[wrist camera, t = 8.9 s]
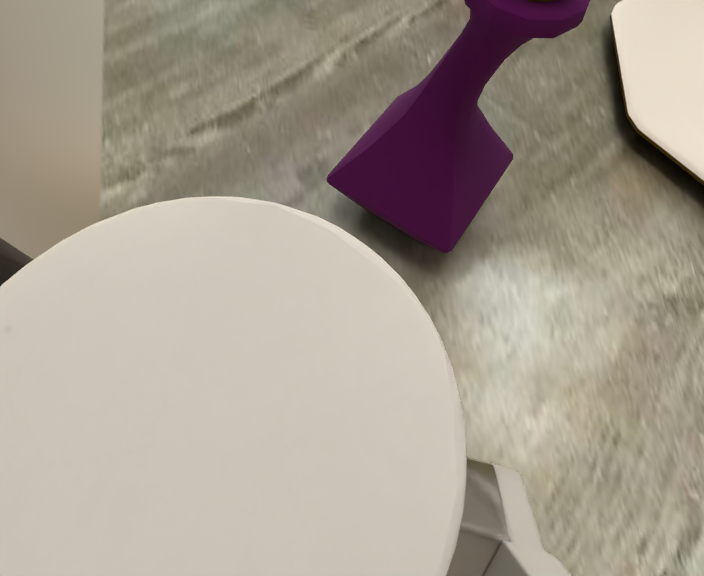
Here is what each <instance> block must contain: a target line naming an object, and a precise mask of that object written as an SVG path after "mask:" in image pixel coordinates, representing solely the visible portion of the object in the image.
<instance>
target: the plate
mask: <svg viewBox="0 0 704 576" xmlns="http://www.w3.org/2000/svg"><path fill="white" fill-rule="evenodd" d="M610 22H611V28H612V34H613V40H614V46H615V52H616V58H617V64H618V70H619V76H620V82H621V88H622V94H623V100H624V106H625V112H626V117H627V118H628V120H629V121H630V123H631V124H632V126H633V127H634V129H635V130H636V132H637V133H638V134H639V135H641V136H642V137H643V138H644V139H646V140H647V141H648V142H649V143H651V144H652V145H653V146H654V147H656V148H657V149H658V150H660V151H661V152H662V153H663V154H665V155H666V156H667V157H668V158H670V159H671V160H672V161H673V162H675V163H676V164H677V165H678V166H680V167H681V168H682V169H684V170H685V171H686V172H687V173H689V174H690V175H691V176H692V177H694V178H695V179H696V180H697V181H699V182H700V183H701V184H703V185H704V0H623V1H621V2H619V3H617V4H616V5H615V7H614V9H613V11H612V13H611V15H610Z"/></svg>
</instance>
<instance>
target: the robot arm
mask: <svg viewBox="0 0 704 576" xmlns="http://www.w3.org/2000/svg"><path fill="white" fill-rule="evenodd" d="M466 458H467V471H466V490H465V499H464V509H463V515H462V520H461V525H460V530H459V534H458V539H457V544H456V548H455V551H454V554H453V557H452V560H451V563H450V566H449V569H448V572H447V575H446V576H572V575H571V574H570V572H569V571H568V570H567V569H566V568H565V567H564V565H563V564H562V563H561V562H560V561H559V560H558V559H557V557H556V556H555V555H552V554H549V553H546V552H545V548H544V545H543V542H542V539H541V536H540V533H539V530H538V526H537V523H536V520H535V517H534V514H533V511H532V507H531V504H530V501H529V498H528V495H527V492H526V489H525V485H524V482H523V479H522V476H521V474H520V473H519V471H518V470H516V469H512V468H509V467H505V466H501V465H497V464H493V463H487V462H483V461H480V460H476V459H472V458H469V457H466Z"/></svg>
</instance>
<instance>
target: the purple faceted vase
mask: <svg viewBox="0 0 704 576" xmlns="http://www.w3.org/2000/svg"><path fill="white" fill-rule="evenodd" d="M589 1H590V0H465V4H466V5H467V6H468V7H469V8H470V19H469V21H468V23H467V25H466V26H465V28H464V30H463V31H462V33H461V34H460V36H459V37H458V38H457V40H456V41H455V42H454V43H453V45H452V46H451V47H450V49H449V50H448V51H447V52H446V54H445V55H444V56H443V58H442V59H441V60H440V61H439V63H438V64H437V65H436V66H435V68H434V69H433V70H432V71H431V72H430V74H429V75H428V76H427V77H426V78H425V79H424V80H423V81H421V82H420V83H419V84H418V85H417V86H415V87H414V88H412V89H410V90H408V91H407V92H405V93H403V94H402V95H400V96H398V97H397V98H396V99H395V100H394V101H393V103H392V104H391V105H390V106H389V107H388V108H387V109H386V110H385V112H384V113H383V114H382V115H381V116H380V117H379V118H378V120H377V121H376V122H375V123H374V124H373V125H372V126H371V127H370V129H369V130H368V131H367V132H366V133H365V134H364V135H363V136H362V138H361V139H360V140H359V141H358V142H357V143H356V144H355V145H354V147H353V148H352V149H351V150H350V151H349V152H348V153H347V154H346V156H345V157H344V158H343V159H342V160H341V161H340V162H339V163H338V165H337V166H336V167H335V168H334V169H333V170H332V171H331V172H330V174H329V175H328V177H327V182H328V183H329V184H330V185H331V186H333V187H334V188H336V189H337V190H338V191H340V192H341V193H343V194H344V195H346V196H347V197H348V198H350V199H351V200H353V201H354V202H356V203H357V204H359V205H360V206H361V207H363V208H364V209H366V210H367V211H369V212H370V213H372V214H374V215H375V216H377V217H379V218H380V219H382V220H384V221H385V222H387V223H389V224H390V225H392V226H394V227H395V228H397V229H399V230H400V231H402V232H404V233H405V234H407V235H409V236H410V237H412V238H414V239H415V240H417V241H419V242H420V243H423V244H425V245H427V246H429V247H432V248H434V249H436V250H438V251H441V252H443V253H449V252H450V251H452V249H453V248H454V246H455V245H456V243H457V242H458V240H459V239H460V237H461V236H462V234H463V233H464V231H465V230H466V228H467V227H468V225H469V224H470V222H471V221H472V219H473V218H474V216H475V215H476V213H477V212H478V210H479V209H480V207H481V206H482V204H483V203H484V201H485V200H486V199H487V197H488V196H489V194H490V193H491V191H492V190H493V188H494V187H495V185H496V184H497V182H498V181H499V179H500V178H501V176H502V175H503V173H504V172H505V170H506V169H507V167H508V166H509V164H510V163H511V161H512V160H513V154H512V152H511V151H510V150H509V149H508V147H507V146H506V145H505V144H504V142H503V141H502V140H501V139H500V137H499V136H498V135H497V134H496V132H495V131H494V130H493V129H492V127H491V126H490V125H489V123H488V121H487V120H486V118H485V117H484V115H483V113H482V112H481V110H480V109H479V107H478V105H477V101H478V99H479V97H480V94H481V92H482V90H483V88H484V86H485V84H486V83H487V82H488V81H489V79H490V78H491V77H492V75H493V74H494V73H495V71H496V70H497V69H498V67H499V66H500V65H501V64H502V62H503V61H504V60H505V59H506V58H507V57H508V56H509V55H510V54H512V53H513V52H514V51H515V50H516V49H517V48H518V47H519V46H521V45H522V44H524V43H526V42H527V41H529V40H531V39H533V38H555V37H557V36H559V35H561V34H563V33H565V32H567V31H569V30H571V29H573V28H575V27H577V26H578V25H579V24H580V23H581V22H582V20H583V17H584V15H585V12H586V9H587V7H588V4H589Z"/></svg>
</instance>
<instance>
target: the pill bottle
mask: <svg viewBox="0 0 704 576" xmlns="http://www.w3.org/2000/svg"><path fill="white" fill-rule="evenodd" d="M466 471H467V458H466V428H465V422H464V416H463V410H462V404H461V399H460V395H459V392H458V388H457V384H456V380H455V376H454V373H453V369H452V365H451V362H450V360H449V357H448V355H447V352H446V349H445V347H444V344H443V342H442V339H441V337H440V335H439V333H438V331H437V330H436V328H435V326H434V324H433V322H432V320H431V318H430V316H429V315H428V313H427V312H426V311H425V309H424V308H423V306H422V305H421V303H420V301H419V300H418V298H417V297H416V295H415V294H414V293H413V291H412V290H411V289H410V288H409V286H408V285H407V284H406V283H405V281H404V280H403V279H402V278H401V277H400V276H399V275H398V274H397V273H396V272H395V271H394V270H393V269H392V268H391V267H390V266H389V265H388V264H387V263H386V262H385V261H384V260H383V259H382V258H381V257H380V256H379V255H378V254H376V253H375V252H374V251H373V250H371V249H370V248H369V247H368V246H366V245H365V244H364V243H362V242H361V241H359V240H358V239H356V238H355V237H353V236H352V235H350V234H349V233H347V232H346V231H344V230H342V229H341V228H339V227H338V226H335V225H333V224H331V223H329V222H327V221H325V220H323V219H321V218H319V217H317V216H314V215H311V214H308V213H305V212H302V211H299V210H297V209H294V208H290V207H287V206H284V205H281V204H278V203H273V202H268V201H262V200H256V199H249V198H241V197H194V198H183V199H177V200H170V201H164V202H159V203H155V204H151V205H146V206H142V207H138V208H134V209H132V210H129V211H126V212H124V213H121V214H119V215H116V216H113V217H111V218H108V219H106V220H103V221H100V222H98V223H95V224H93V225H91V226H89V227H87V228H85V229H83V230H81V231H79V232H77V233H75V234H74V235H72V236H70V237H68V238H66V239H64V240H63V241H61V242H59V243H58V244H56V245H55V246H53V247H52V248H50V249H49V250H47V251H46V252H44V253H43V254H42V255H40V256H39V257H37V258H36V259H34V260H33V261H31V262H30V263H28V264H27V265H26V266H24V267H23V268H22V269H21V270H20V271H18V272H17V273H16V274H15V275H13V276H12V277H11V278H10V279H9V280H7V281H6V282H5V283H4V284H3V285H2V286H1V287H0V576H446V575H447V572H448V569H449V566H450V563H451V560H452V557H453V554H454V551H455V548H456V544H457V539H458V534H459V530H460V525H461V520H462V515H463V509H464V499H465V490H466Z"/></svg>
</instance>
